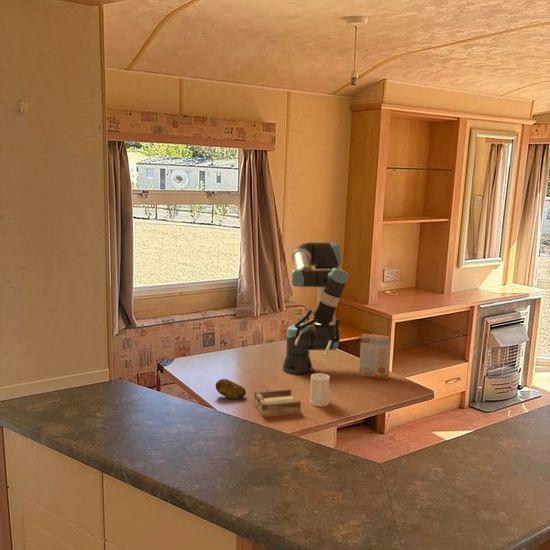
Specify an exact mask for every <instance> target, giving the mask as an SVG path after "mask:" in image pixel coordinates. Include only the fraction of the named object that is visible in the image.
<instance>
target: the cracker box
mask: <svg viewBox="0 0 550 550" xmlns="http://www.w3.org/2000/svg"><path fill="white" fill-rule="evenodd" d="M391 337H392V336H391V335H384V334H374V333H365V332H364V333H362V334H361V336H360V344H359V345H360V349H359V370H358V371H359V373H358V374H359V377H360V376H361V377H363V378H370V379H378V380H385V379H386V380H387V381H388V379H389V377H390V363H391V362H390V361H391ZM361 377H360V378H361Z"/></svg>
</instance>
